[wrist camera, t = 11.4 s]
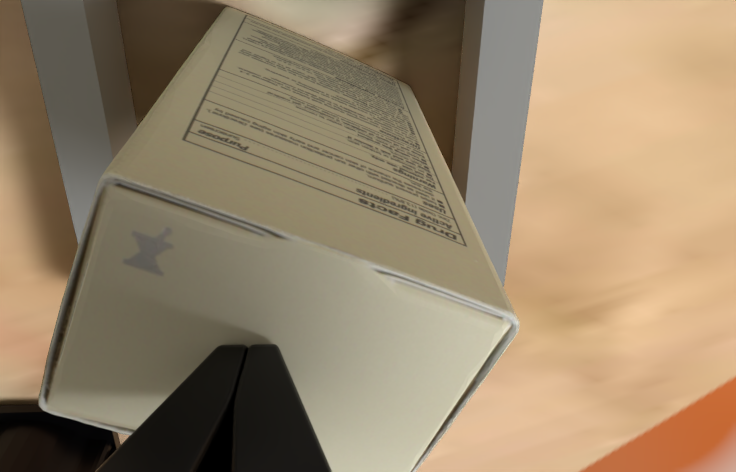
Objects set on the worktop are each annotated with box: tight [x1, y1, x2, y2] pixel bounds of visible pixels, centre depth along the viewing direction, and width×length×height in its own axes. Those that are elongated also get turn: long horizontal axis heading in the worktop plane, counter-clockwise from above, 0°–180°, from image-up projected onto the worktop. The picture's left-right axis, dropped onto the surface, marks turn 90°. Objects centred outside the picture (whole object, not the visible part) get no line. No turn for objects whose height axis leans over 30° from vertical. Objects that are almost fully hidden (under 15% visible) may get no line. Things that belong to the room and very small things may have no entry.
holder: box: [21, 0, 543, 288], centre depth 19 cm, size 13×13×2 cm
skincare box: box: [39, 7, 519, 472], centre depth 14 cm, size 6×4×12 cm
